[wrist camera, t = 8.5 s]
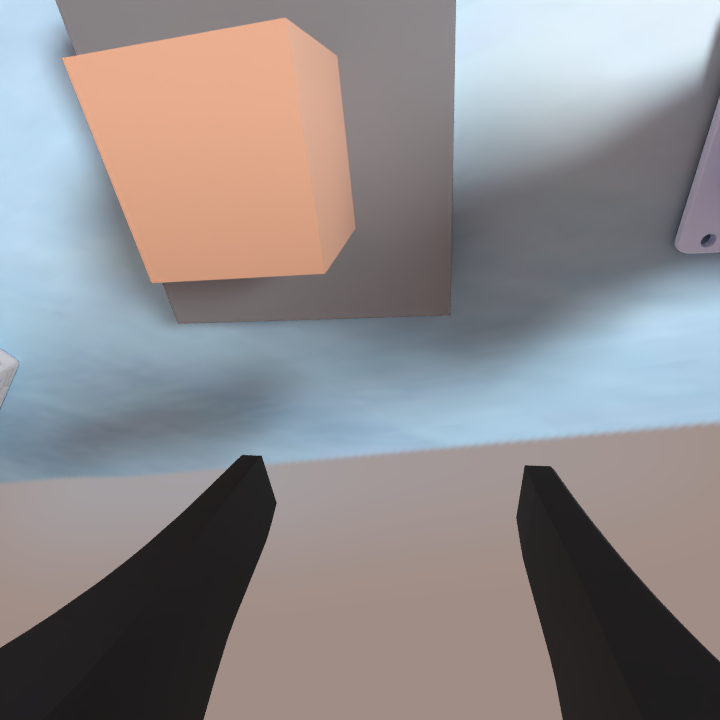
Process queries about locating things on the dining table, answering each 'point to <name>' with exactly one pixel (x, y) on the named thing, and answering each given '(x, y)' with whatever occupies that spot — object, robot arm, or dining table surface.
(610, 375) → the dining table surface
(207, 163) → the terracotta block
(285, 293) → the grey square slab
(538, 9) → the dining table surface
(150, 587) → the robot arm
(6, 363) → the light bulb box
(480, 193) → the dining table surface
